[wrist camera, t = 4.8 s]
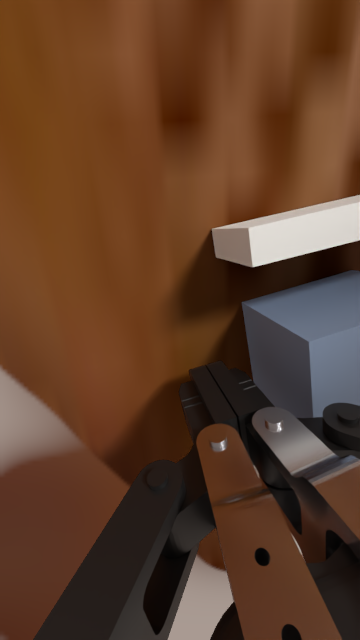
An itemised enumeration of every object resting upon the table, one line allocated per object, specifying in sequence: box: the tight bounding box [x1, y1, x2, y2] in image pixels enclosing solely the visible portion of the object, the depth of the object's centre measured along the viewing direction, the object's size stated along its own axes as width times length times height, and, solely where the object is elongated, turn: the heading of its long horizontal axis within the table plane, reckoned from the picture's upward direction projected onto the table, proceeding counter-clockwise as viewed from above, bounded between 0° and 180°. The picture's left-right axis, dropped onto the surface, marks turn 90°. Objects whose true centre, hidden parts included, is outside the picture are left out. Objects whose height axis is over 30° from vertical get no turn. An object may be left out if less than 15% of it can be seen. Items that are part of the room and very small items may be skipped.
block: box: [242, 270, 360, 418], centre depth 12 cm, size 6×6×5 cm
